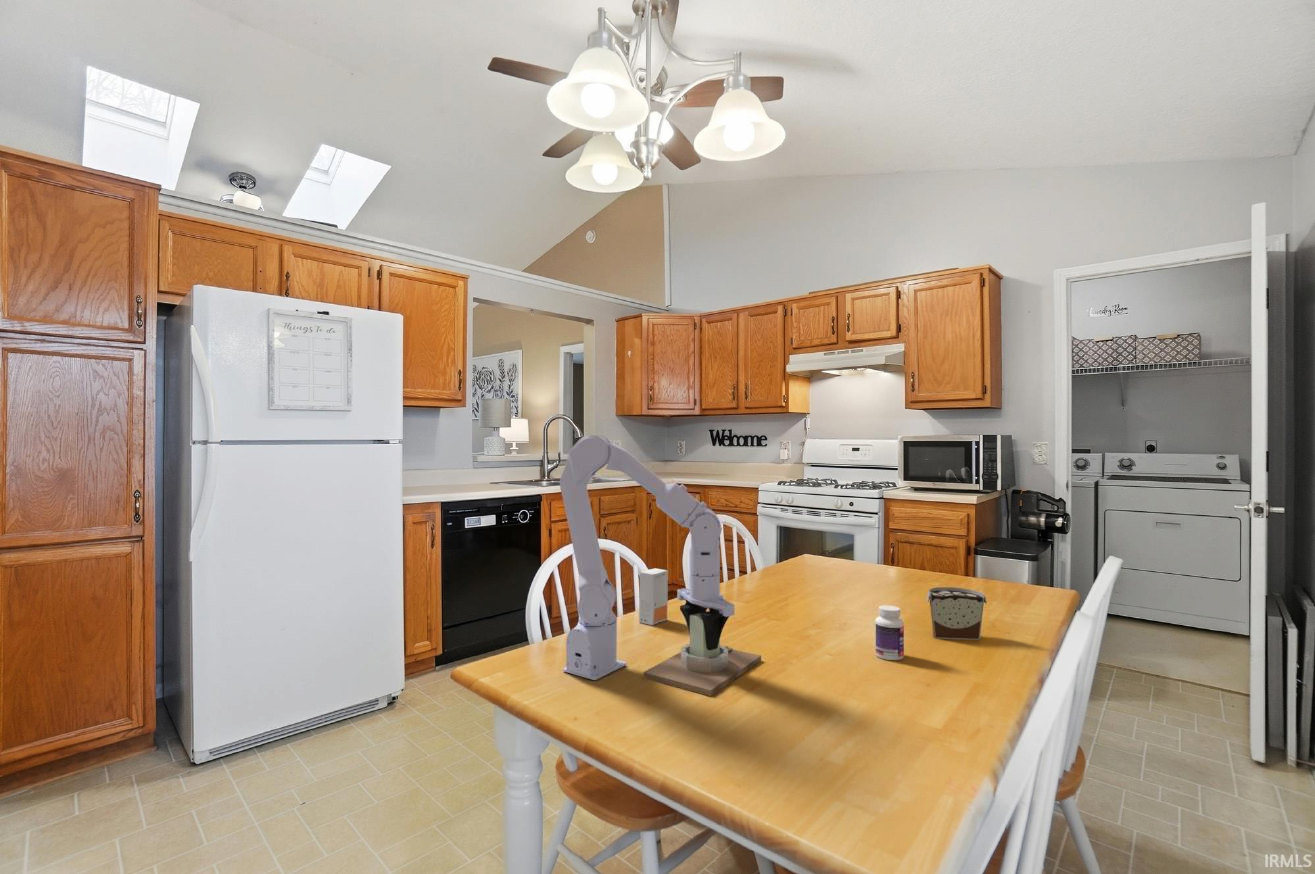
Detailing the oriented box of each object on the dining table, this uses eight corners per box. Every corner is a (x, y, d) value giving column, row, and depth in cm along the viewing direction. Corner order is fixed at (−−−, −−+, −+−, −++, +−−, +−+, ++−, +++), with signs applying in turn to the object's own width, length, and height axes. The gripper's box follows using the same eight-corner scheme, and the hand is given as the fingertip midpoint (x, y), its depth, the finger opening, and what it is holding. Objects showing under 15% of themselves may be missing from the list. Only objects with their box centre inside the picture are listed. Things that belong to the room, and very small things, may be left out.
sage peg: (719, 659, 114) (719, 616, 114) (703, 663, 112) (703, 620, 112) (705, 653, 117) (705, 611, 118) (689, 657, 115) (689, 615, 115)
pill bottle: (906, 662, 118) (906, 612, 118) (877, 660, 119) (877, 610, 119) (901, 652, 124) (901, 604, 124) (873, 650, 125) (873, 603, 125)
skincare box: (652, 626, 141) (653, 574, 141) (638, 622, 143) (638, 572, 143) (668, 620, 146) (668, 570, 146) (654, 616, 148) (654, 567, 148)
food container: (974, 631, 138) (974, 587, 138) (986, 640, 131) (986, 593, 131) (918, 629, 139) (918, 585, 139) (927, 638, 133) (927, 592, 133)
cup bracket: (710, 696, 102) (710, 675, 102) (643, 677, 110) (643, 658, 110) (761, 660, 119) (761, 642, 119) (699, 646, 127) (699, 629, 127)
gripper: (746, 577, 111) (746, 652, 111) (696, 564, 123) (696, 631, 123) (717, 583, 107) (717, 660, 107) (668, 568, 119) (668, 638, 119)
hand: (704, 645), depth 115 cm, fingers closed on sage peg, 4 cm apart
